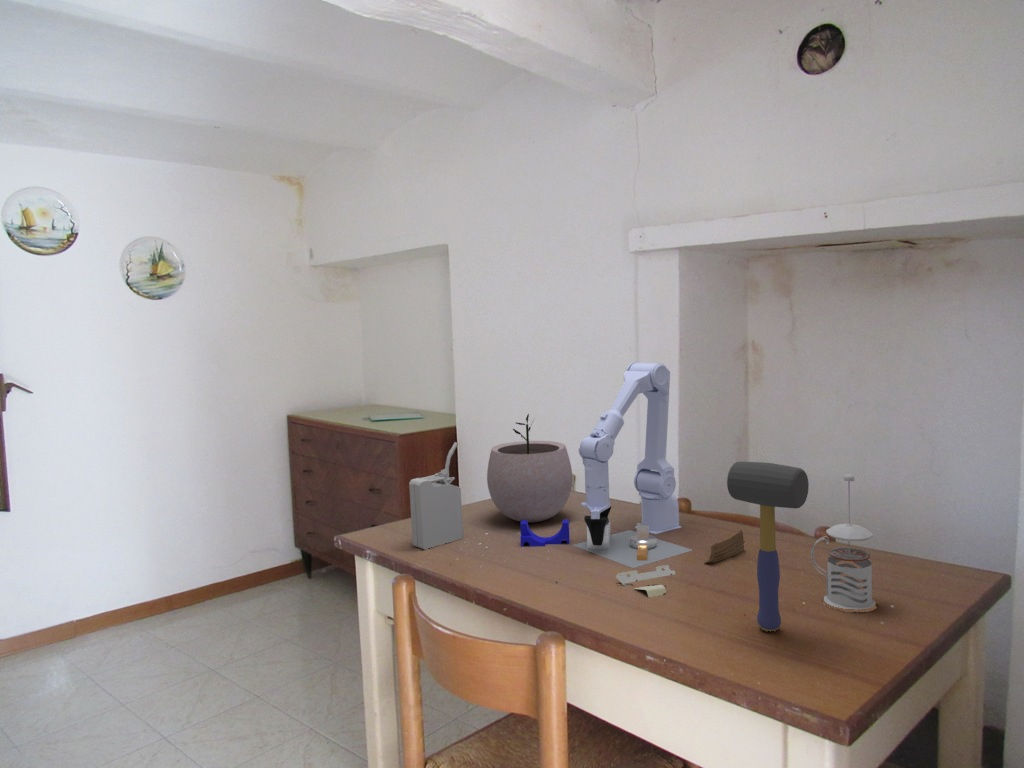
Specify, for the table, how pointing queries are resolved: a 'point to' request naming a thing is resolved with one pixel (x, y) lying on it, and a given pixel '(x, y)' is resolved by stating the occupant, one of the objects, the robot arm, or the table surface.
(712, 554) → the wood plank
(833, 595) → the french press
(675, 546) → the mat
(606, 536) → the brushed metal cube
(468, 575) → the table surface
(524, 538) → the cable clip
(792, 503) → the rubber mallet
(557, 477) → the plant pot
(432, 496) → the jerry can
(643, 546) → the scoop
